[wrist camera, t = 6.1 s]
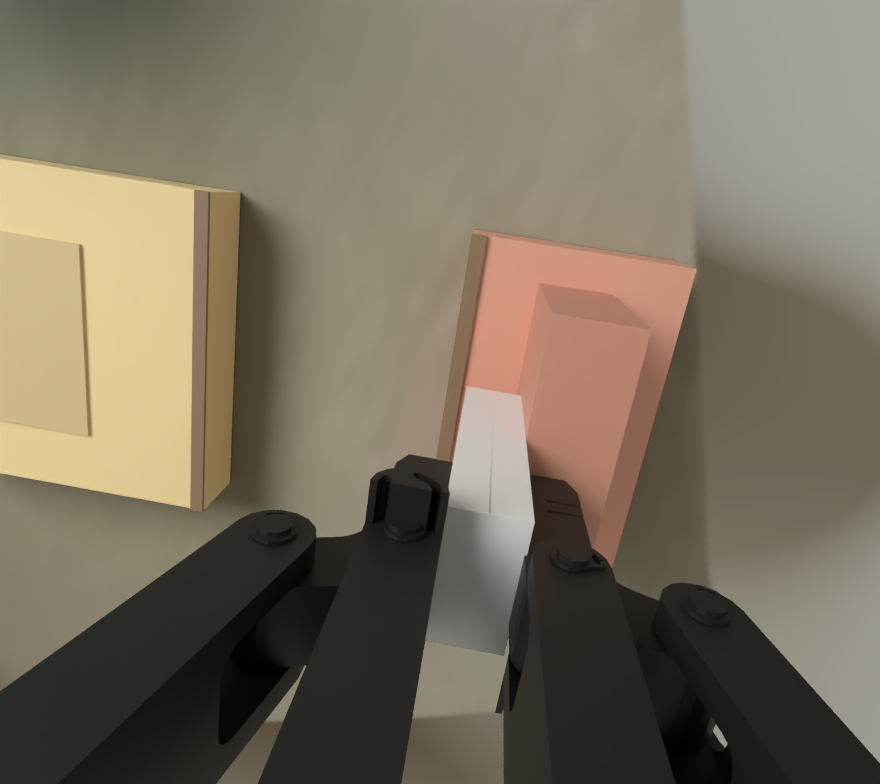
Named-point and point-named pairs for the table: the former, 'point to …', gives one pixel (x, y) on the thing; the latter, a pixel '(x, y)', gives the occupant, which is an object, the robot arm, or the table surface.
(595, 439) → the pink stepped block
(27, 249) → the tan flat square block
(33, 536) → the table surface
